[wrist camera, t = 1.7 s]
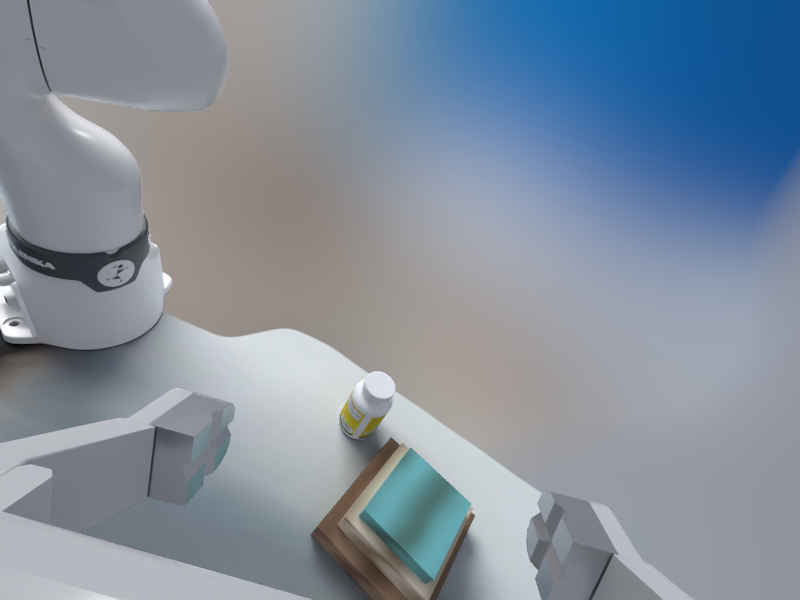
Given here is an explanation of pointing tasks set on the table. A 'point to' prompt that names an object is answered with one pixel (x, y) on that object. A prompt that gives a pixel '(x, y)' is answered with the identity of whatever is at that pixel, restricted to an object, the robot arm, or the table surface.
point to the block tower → (397, 527)
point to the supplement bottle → (367, 405)
